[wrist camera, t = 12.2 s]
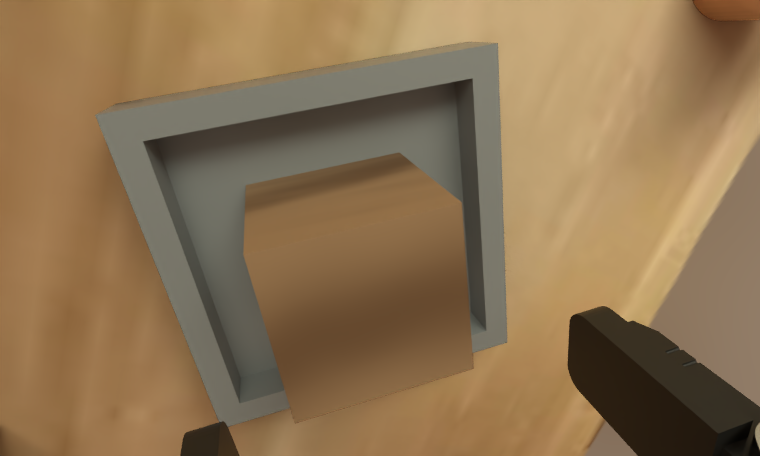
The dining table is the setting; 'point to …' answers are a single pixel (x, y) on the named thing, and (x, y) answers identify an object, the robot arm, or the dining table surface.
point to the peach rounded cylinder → (729, 9)
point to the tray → (294, 156)
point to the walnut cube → (358, 281)
